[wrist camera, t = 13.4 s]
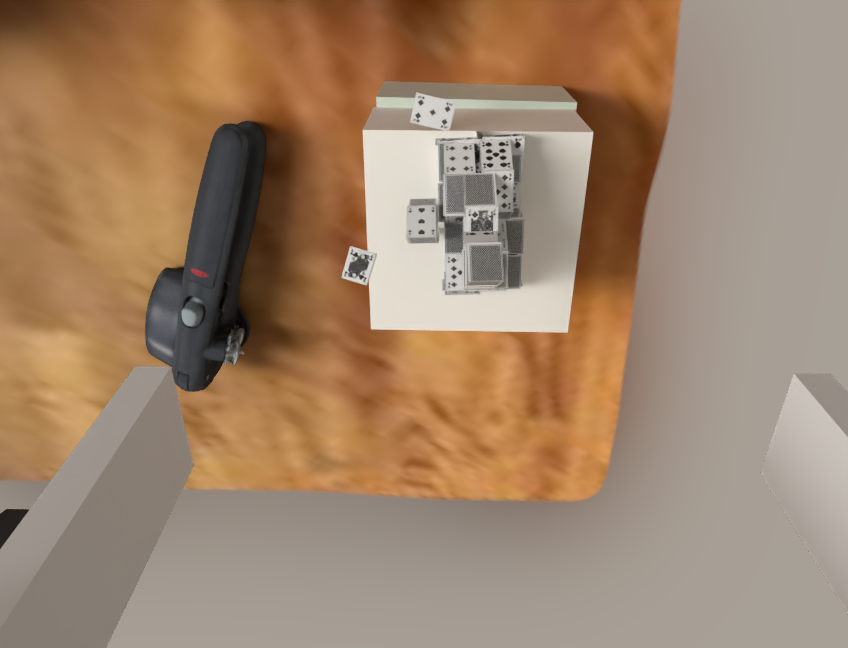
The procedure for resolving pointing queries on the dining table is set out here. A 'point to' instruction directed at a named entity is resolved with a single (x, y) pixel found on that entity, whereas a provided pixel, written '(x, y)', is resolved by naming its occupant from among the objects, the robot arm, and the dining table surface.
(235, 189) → the can opener
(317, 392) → the dining table surface
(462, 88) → the tower bottom block
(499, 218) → the house of cards
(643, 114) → the dining table surface
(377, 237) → the tower top block
